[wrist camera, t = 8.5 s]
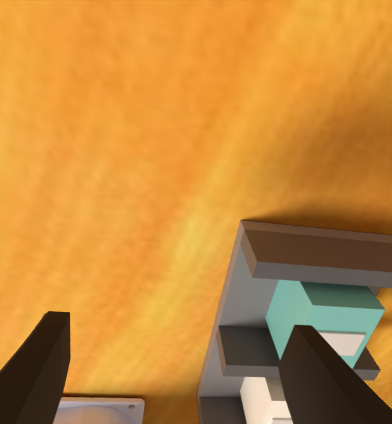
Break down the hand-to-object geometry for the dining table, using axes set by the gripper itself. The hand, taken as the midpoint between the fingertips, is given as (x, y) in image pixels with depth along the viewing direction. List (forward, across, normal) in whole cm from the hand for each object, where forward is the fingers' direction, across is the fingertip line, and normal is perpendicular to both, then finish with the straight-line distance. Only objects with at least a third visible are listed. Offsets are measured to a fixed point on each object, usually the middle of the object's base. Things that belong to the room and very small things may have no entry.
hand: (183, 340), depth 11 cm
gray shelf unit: (+9, -9, +8) cm, 16 cm away
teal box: (+8, -9, +5) cm, 13 cm away
